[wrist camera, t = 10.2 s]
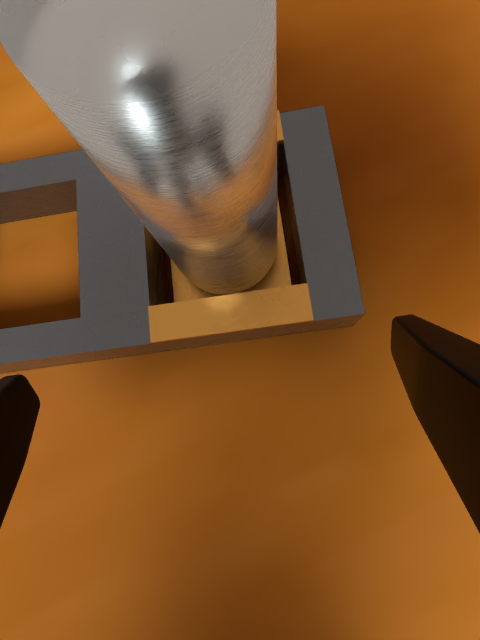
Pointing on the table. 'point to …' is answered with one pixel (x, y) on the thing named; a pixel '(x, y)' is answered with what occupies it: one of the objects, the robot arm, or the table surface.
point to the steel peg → (168, 117)
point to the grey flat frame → (147, 267)
